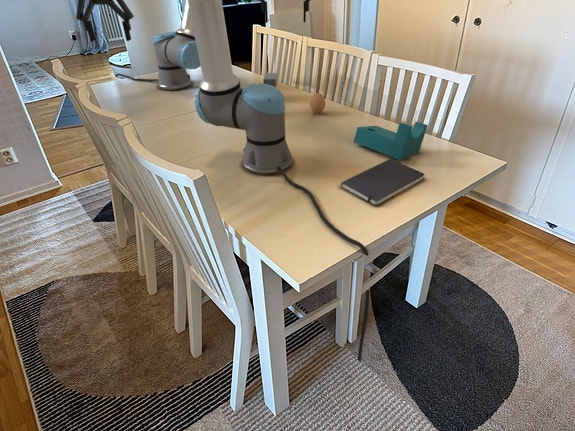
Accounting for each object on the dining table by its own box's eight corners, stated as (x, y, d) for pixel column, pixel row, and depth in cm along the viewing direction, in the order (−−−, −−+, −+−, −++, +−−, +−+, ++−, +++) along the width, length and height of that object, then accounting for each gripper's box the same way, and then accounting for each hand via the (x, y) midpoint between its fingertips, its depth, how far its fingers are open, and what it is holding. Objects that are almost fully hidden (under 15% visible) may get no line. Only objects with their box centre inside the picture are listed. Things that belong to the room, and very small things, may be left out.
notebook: (389, 163, 124) (340, 187, 113) (390, 158, 123) (341, 182, 112) (424, 178, 116) (375, 206, 105) (425, 174, 115) (376, 201, 104)
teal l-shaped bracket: (417, 156, 130) (427, 124, 125) (399, 160, 122) (409, 126, 118) (372, 139, 141) (380, 110, 136) (353, 141, 133) (361, 110, 129)
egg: (314, 117, 155) (314, 96, 150) (307, 111, 159) (307, 91, 155) (327, 114, 157) (328, 94, 152) (320, 109, 161) (320, 89, 157)
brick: (266, 95, 176) (265, 72, 170) (278, 95, 176) (277, 72, 170) (264, 102, 169) (263, 79, 163) (276, 102, 169) (275, 79, 163)
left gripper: (52, -25, 135) (73, 43, 147) (124, -26, 133) (140, 42, 145) (64, -27, 141) (83, 38, 153) (133, -29, 139) (147, 37, 151)
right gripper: (245, -48, 130) (249, 24, 142) (322, -50, 129) (320, 23, 141) (247, -49, 136) (251, 20, 148) (322, -50, 135) (320, 19, 147)
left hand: (111, 40), depth 149 cm, fingers open, 13 cm apart
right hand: (285, 22), depth 144 cm, fingers open, 13 cm apart
